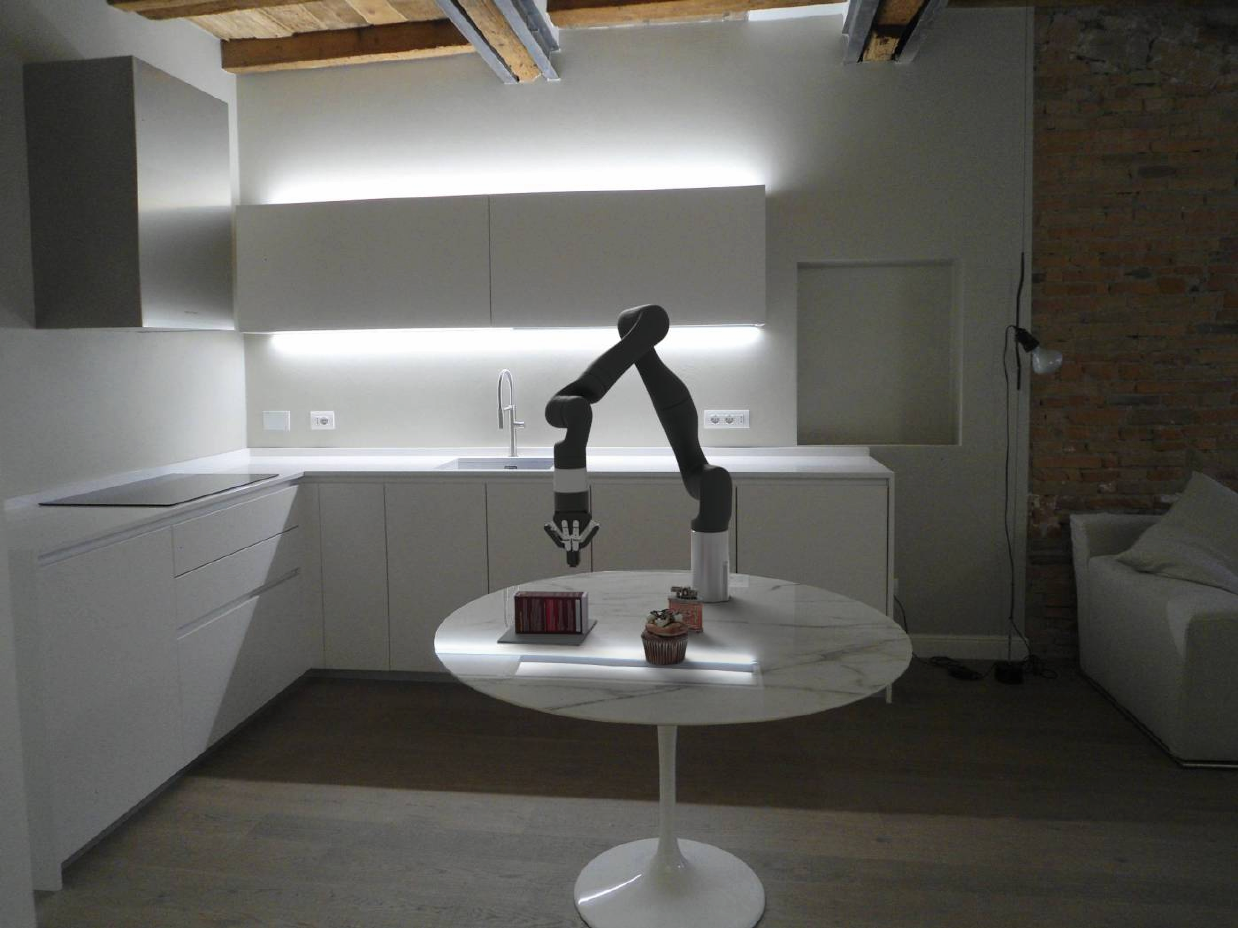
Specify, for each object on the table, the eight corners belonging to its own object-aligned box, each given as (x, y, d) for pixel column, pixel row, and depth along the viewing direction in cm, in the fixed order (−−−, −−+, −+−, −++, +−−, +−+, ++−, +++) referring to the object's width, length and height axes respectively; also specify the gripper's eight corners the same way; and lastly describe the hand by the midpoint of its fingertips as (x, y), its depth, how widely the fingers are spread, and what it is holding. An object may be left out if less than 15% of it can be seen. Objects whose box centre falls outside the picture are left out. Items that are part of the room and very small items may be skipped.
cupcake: (699, 658, 187) (698, 609, 186) (664, 670, 181) (663, 619, 179) (665, 647, 194) (665, 600, 193) (631, 658, 188) (630, 610, 187)
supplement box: (588, 591, 206) (517, 589, 208) (585, 596, 202) (513, 595, 203) (589, 628, 208) (518, 627, 209) (586, 635, 203) (514, 634, 204)
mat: (596, 621, 214) (596, 619, 214) (579, 645, 197) (579, 643, 197) (521, 618, 218) (521, 616, 217) (497, 642, 200) (497, 640, 200)
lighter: (705, 630, 205) (705, 586, 204) (700, 634, 202) (699, 589, 201) (671, 626, 209) (670, 582, 208) (665, 630, 206) (665, 586, 205)
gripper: (604, 485, 205) (606, 563, 207) (545, 485, 207) (548, 562, 209) (597, 491, 197) (600, 571, 199) (536, 490, 200) (540, 570, 202)
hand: (573, 566), depth 204 cm, fingers closed
